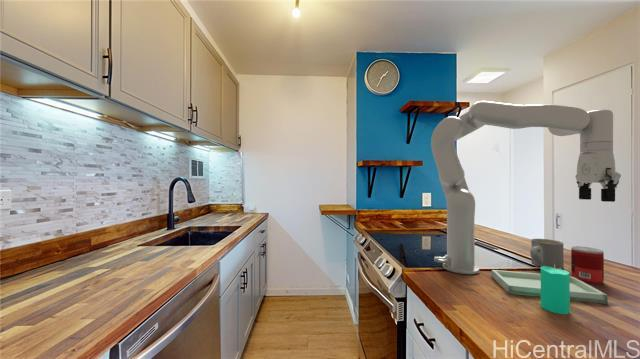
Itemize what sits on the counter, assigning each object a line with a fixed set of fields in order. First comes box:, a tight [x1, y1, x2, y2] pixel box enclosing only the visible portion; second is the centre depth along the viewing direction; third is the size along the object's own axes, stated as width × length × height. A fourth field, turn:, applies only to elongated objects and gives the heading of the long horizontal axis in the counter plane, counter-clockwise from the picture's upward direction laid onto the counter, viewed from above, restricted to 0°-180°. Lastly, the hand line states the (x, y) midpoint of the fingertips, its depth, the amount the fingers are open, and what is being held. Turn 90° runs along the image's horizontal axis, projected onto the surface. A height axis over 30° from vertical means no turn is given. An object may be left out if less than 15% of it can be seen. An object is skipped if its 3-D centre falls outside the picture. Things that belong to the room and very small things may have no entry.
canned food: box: [570, 245, 605, 285], centre depth 92 cm, size 8×8×11 cm
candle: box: [540, 264, 571, 315], centre depth 71 cm, size 6×6×12 cm
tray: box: [491, 269, 609, 305], centre depth 84 cm, size 24×15×2 cm, turn 74°
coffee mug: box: [529, 238, 564, 269], centre depth 108 cm, size 13×10×10 cm
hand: (595, 200), depth 86 cm, fingers open, 9 cm apart
